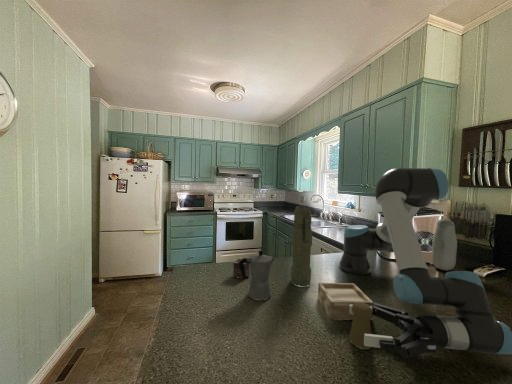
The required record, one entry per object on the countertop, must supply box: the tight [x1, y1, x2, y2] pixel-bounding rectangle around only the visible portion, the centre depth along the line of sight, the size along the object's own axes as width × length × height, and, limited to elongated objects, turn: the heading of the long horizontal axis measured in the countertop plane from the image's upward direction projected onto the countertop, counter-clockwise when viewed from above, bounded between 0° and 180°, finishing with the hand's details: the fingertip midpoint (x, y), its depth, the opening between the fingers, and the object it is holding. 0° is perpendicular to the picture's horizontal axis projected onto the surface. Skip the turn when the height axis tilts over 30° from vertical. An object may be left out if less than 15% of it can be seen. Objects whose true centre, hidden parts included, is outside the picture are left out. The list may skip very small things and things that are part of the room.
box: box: [232, 258, 250, 278], centre depth 105 cm, size 6×6×7 cm
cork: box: [348, 302, 372, 348], centre depth 62 cm, size 6×6×11 cm
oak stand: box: [317, 282, 374, 320], centre depth 79 cm, size 14×14×6 cm
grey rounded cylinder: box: [431, 218, 458, 272], centre depth 120 cm, size 10×10×28 cm
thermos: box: [290, 204, 313, 286], centre depth 99 cm, size 9×12×35 cm
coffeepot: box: [239, 250, 277, 300], centre depth 87 cm, size 15×9×18 cm, turn 110°
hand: (356, 322), depth 62 cm, fingers open, 13 cm apart
